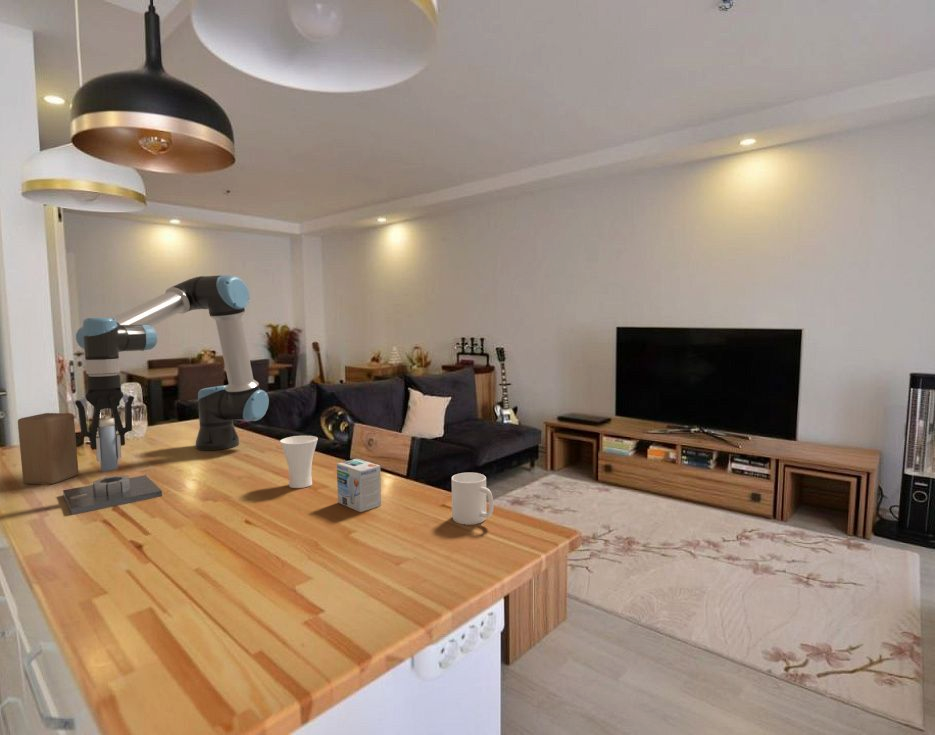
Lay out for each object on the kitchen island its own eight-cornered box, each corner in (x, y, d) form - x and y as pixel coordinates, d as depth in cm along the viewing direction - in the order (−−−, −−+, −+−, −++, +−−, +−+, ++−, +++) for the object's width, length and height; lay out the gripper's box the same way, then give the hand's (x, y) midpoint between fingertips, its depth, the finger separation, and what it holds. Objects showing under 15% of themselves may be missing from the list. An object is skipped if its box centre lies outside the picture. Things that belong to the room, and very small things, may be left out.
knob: (99, 468, 144) (96, 415, 143) (116, 465, 147) (113, 414, 146) (102, 471, 141) (98, 417, 140) (119, 468, 144) (116, 415, 143)
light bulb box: (336, 503, 138) (335, 463, 136) (358, 496, 142) (356, 457, 141) (361, 513, 130) (359, 470, 129) (382, 505, 135) (381, 465, 134)
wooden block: (80, 475, 165) (75, 412, 163) (52, 485, 155) (46, 418, 153) (51, 474, 166) (45, 412, 164) (21, 484, 156) (15, 418, 154)
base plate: (145, 479, 159) (144, 465, 159) (162, 495, 144) (161, 480, 144) (63, 495, 146) (62, 479, 145) (72, 514, 131) (70, 497, 130)
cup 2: (469, 509, 132) (469, 470, 131) (505, 522, 123) (504, 480, 122) (444, 518, 126) (444, 477, 125) (480, 532, 117) (480, 489, 116)
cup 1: (290, 493, 145) (288, 445, 144) (276, 484, 153) (274, 439, 152) (325, 485, 152) (324, 439, 151) (310, 477, 160) (308, 433, 159)
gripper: (136, 371, 150) (141, 451, 152) (62, 376, 139) (68, 462, 141) (142, 373, 145) (147, 456, 147) (65, 378, 133) (72, 467, 135)
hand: (109, 458), depth 144 cm, fingers closed on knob, 4 cm apart
